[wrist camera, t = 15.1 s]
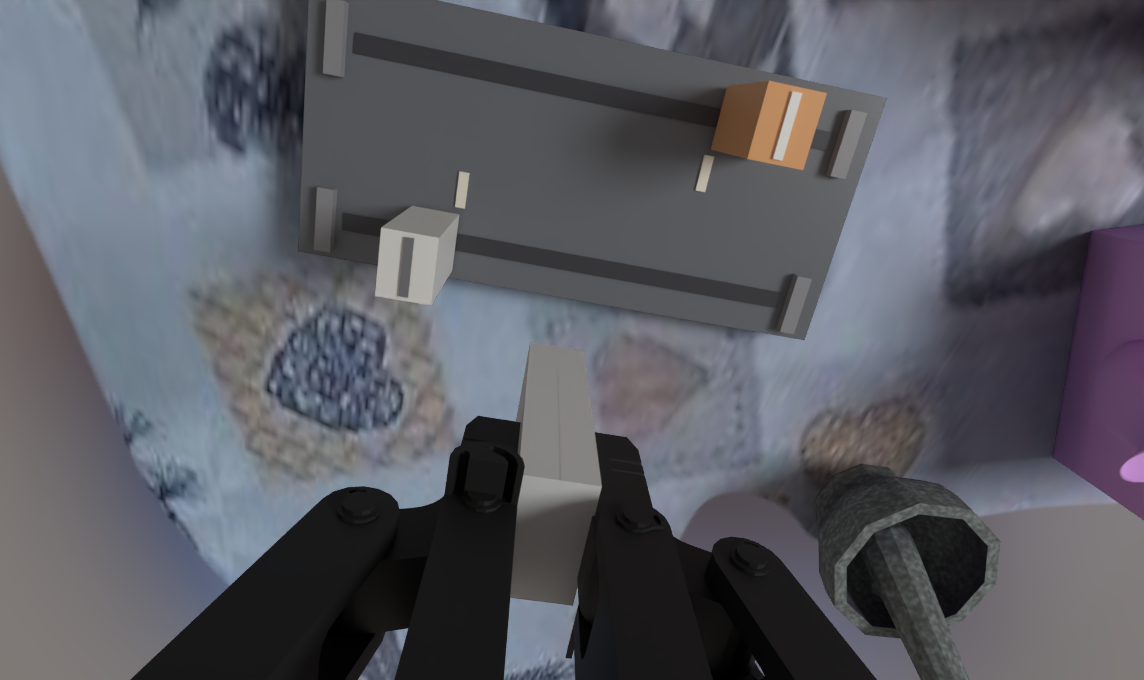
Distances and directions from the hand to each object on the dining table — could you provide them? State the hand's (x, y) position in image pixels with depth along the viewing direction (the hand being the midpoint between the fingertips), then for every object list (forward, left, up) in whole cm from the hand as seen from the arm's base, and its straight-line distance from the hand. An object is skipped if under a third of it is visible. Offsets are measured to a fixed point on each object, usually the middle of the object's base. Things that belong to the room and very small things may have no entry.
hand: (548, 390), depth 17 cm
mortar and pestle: (+14, +24, -19) cm, 34 cm away
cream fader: (0, -6, -16) cm, 18 cm away
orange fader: (-8, +8, -16) cm, 20 cm away
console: (-4, +1, -19) cm, 20 cm away
